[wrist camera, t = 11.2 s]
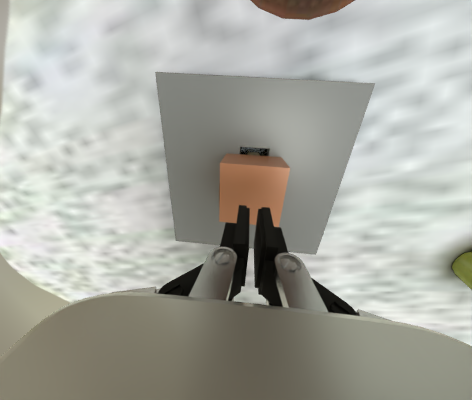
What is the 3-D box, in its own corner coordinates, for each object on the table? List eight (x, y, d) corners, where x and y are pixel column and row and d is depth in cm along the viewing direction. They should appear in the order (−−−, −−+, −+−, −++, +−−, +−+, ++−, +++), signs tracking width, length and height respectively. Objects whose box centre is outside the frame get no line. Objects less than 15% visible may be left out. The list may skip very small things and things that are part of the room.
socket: (309, 240, 26) (315, 254, 24) (183, 228, 27) (176, 240, 25) (356, 88, 18) (375, 83, 15) (169, 78, 19) (155, 71, 16)
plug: (271, 197, 23) (278, 226, 17) (227, 194, 24) (219, 221, 17) (278, 153, 21) (290, 168, 14) (229, 149, 21) (219, 163, 15)
